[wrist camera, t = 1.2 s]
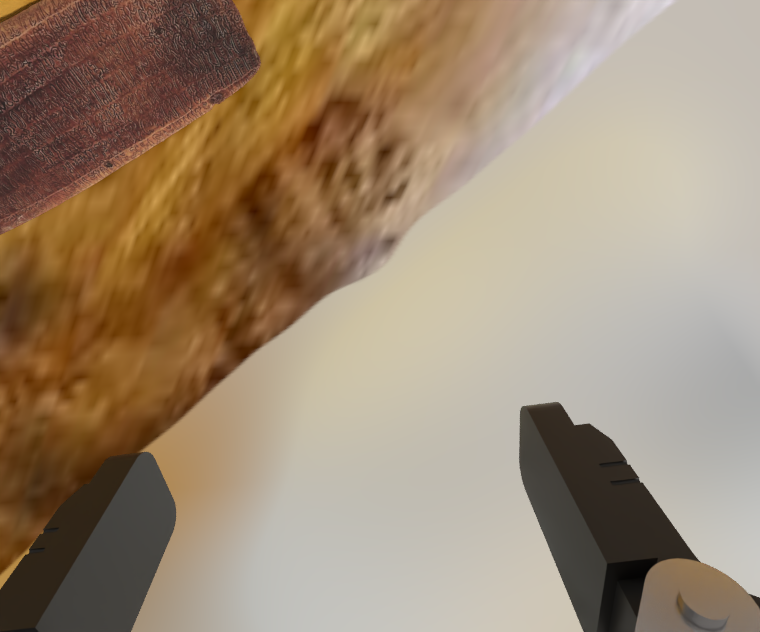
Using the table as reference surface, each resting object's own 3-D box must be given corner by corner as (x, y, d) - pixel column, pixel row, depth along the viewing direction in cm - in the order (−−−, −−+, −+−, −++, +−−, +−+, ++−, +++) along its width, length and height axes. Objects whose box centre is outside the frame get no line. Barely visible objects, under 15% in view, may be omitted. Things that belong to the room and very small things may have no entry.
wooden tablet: (183, -94, 25) (276, 90, 30) (194, -81, 27) (279, 90, 32) (-183, 124, 28) (-49, 260, 33) (-150, 121, 30) (-27, 250, 35)
